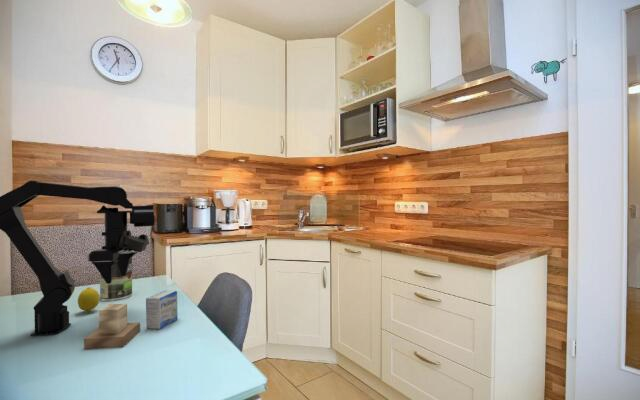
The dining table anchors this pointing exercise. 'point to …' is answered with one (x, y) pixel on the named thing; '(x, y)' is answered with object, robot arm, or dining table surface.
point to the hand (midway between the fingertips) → (116, 279)
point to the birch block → (112, 318)
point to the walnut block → (112, 337)
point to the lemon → (88, 299)
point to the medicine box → (161, 309)
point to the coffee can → (117, 285)
